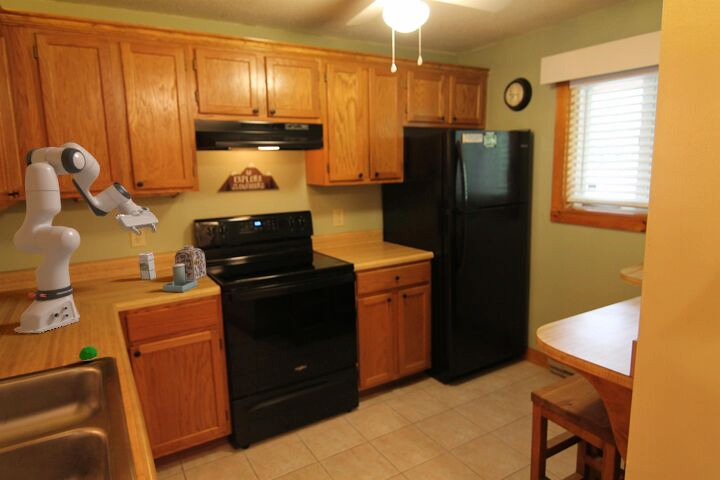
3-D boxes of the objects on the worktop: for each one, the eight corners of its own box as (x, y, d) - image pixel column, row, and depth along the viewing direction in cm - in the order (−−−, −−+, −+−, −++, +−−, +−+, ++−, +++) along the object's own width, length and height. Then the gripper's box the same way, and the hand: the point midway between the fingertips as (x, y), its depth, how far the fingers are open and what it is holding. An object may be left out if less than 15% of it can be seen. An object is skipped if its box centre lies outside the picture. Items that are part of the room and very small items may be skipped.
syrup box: (156, 277, 253) (153, 252, 250) (150, 280, 247) (147, 254, 245) (146, 277, 253) (143, 252, 251) (140, 280, 248) (137, 254, 245)
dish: (182, 292, 220) (182, 286, 219) (163, 291, 223) (162, 285, 222) (197, 286, 231) (197, 280, 230) (178, 285, 234) (178, 279, 233)
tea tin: (181, 289, 223) (179, 266, 221) (171, 288, 225) (169, 265, 223) (189, 285, 228) (186, 263, 226) (179, 285, 230) (177, 263, 228)
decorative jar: (176, 280, 245) (172, 247, 242) (188, 274, 256) (185, 243, 253) (195, 280, 242) (192, 248, 239) (207, 275, 253) (204, 244, 250)
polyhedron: (82, 359, 145) (80, 345, 144) (100, 357, 146) (98, 343, 146) (78, 365, 140) (76, 351, 139) (96, 363, 142) (94, 348, 141)
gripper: (116, 211, 217) (132, 231, 215) (150, 207, 236) (166, 226, 233) (110, 220, 220) (126, 240, 217) (145, 215, 238) (160, 234, 236)
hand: (147, 233), depth 226 cm, fingers open, 8 cm apart
